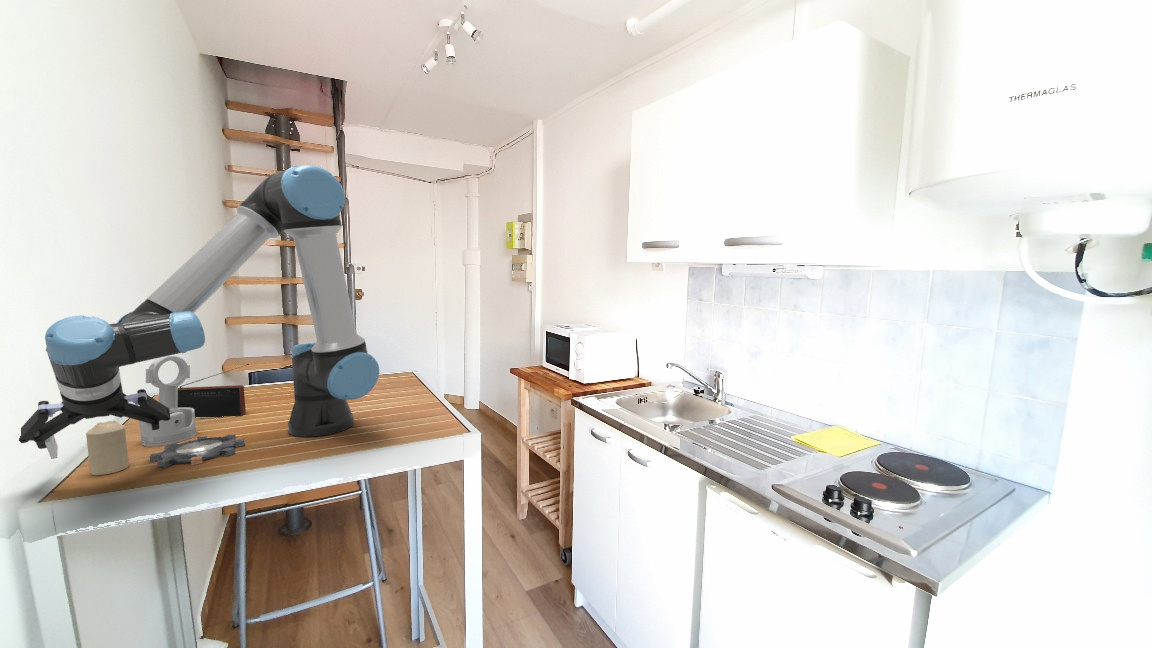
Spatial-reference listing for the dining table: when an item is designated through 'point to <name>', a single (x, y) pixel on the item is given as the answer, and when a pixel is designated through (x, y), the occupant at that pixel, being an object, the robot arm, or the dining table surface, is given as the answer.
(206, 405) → the radio
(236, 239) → the robot arm
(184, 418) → the engine component
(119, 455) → the candle
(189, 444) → the sprocket
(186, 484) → the dining table surface
